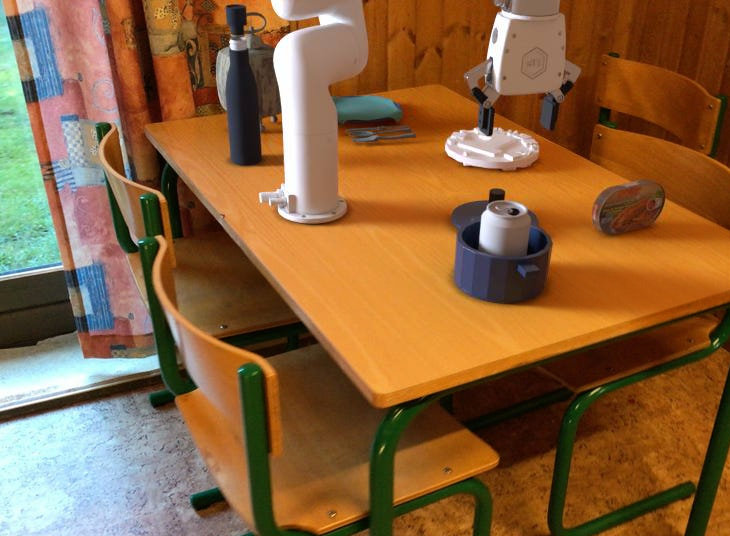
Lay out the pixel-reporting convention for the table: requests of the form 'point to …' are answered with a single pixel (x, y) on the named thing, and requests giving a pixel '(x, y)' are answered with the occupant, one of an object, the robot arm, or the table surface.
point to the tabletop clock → (255, 73)
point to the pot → (501, 267)
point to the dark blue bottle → (241, 94)
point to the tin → (628, 206)
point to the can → (505, 229)
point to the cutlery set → (369, 116)
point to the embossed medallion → (492, 149)
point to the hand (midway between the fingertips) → (516, 130)
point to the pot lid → (481, 209)
